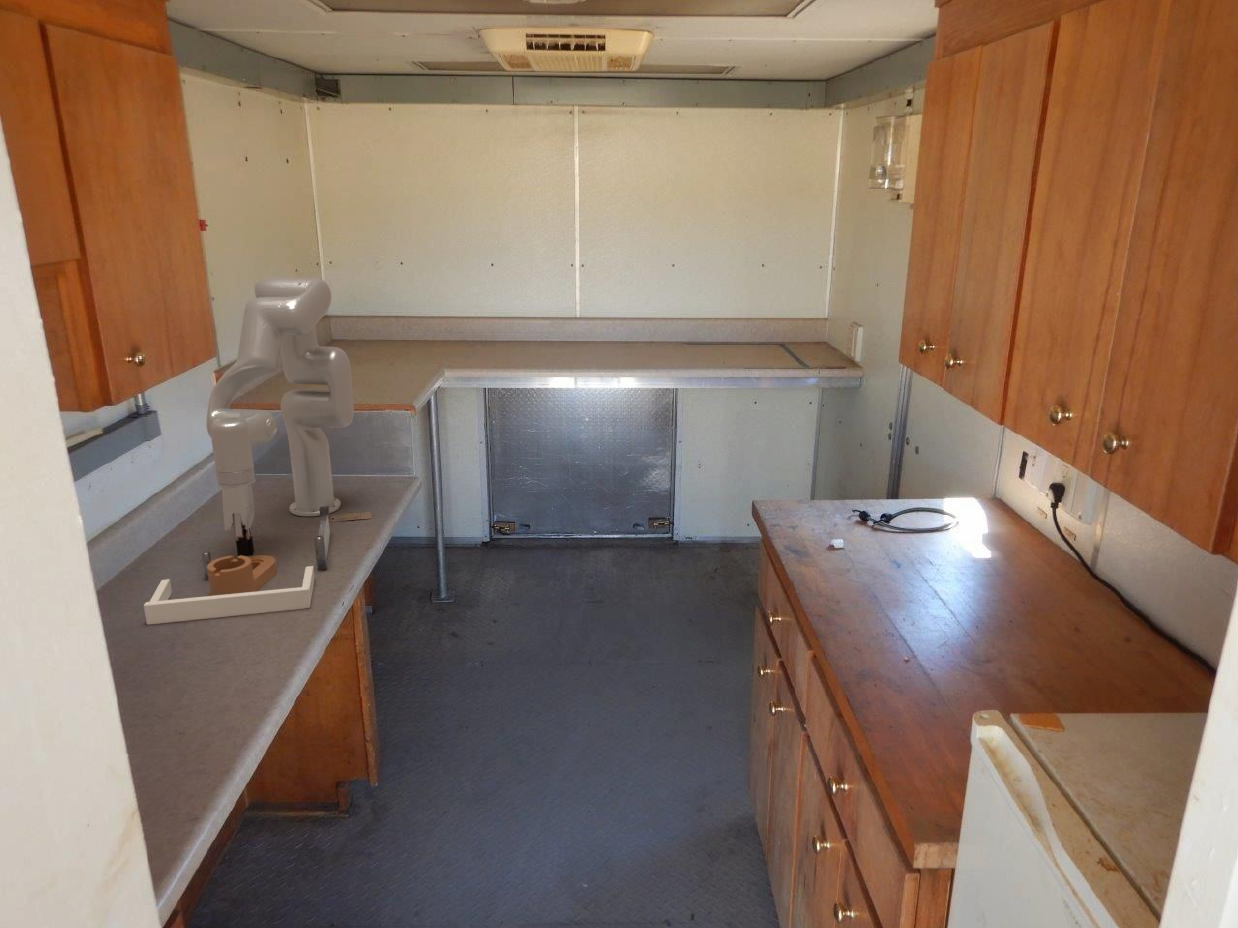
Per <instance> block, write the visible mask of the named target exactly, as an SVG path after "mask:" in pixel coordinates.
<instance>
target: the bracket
mask: <svg viewBox="0 0 1238 928" xmlns="http://www.w3.org/2000/svg"><path fill="white" fill-rule="evenodd" d="M207 572H208V578H209V580H208V584H209V592H210V596H215V595H226V594H236V593H246V592H257V591H260V589H261V588H262V587H263V586H264V585H265V584H266V583H268V582H270V580H271V579H272V578H273V577H274V576H275V575H276V574H277V572H278V571H277V563H276V559H275V557H273V556H272V555H267V554H266V555H265V554H264V555H262V554H261V555H259V554H258V555H253V556H241V555H240V556H237V558H234V555H226V556H222V557H218V558H215V559H213V560H211V562H210V563H209V564H208V565H207Z"/></svg>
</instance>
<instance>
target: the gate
mask: <svg viewBox="0 0 1238 928" xmlns="http://www.w3.org/2000/svg"><path fill="white" fill-rule="evenodd" d="M319 511H320V515H319V517H321V519H320V525H319V528H318V534H317V536H319V535H322V536H324V543H325V552H326V561H328V560H327V559H328V553H329V544H330V538H331V537H330V536H331V531H330V530H331V529H330V522H329V521H330V519H329V516H330V513H329V506H324V507H320V509H319Z"/></svg>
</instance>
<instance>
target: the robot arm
mask: <svg viewBox="0 0 1238 928" xmlns="http://www.w3.org/2000/svg"><path fill="white" fill-rule="evenodd" d="M254 294H255V298H252V299H251V300H249V301H248V302H247V303H246V304H245V307H244V310H243V317H242V323H241V325H242V326H241V332H240V338H239V344H238V350H237V351H238V352H237V357H236V361H235V363H233V365H231V367H229V368H228V369H227V370H226V371H225V372H224V373H223V374H222V376H221V377H220V378H219V379H218V381H217V382H216V384H215V385H214V387H213V388H212V390H211V392H210V395H209V399H208V400H209V401H208V404H207V410H206V412H207V413H206V431H207V434H208V436H209V437H210V439H211V446H212V447H211V448H212V453H213V461H214V467H215V475H216V482H217V485H218V487H221V498H222V499H221V500H222V510H223V512H222V513H223V522H224V531H226V532H228V533H229V532H230V531H231V530H232V529H233V531H234V536H235V544H236V545H235V546H236V551H237V552H236V553H237V557H239V556H240V555H241V556H247V557H250V556H254V554H255V545H254V537H253V535H252V534H253V531H252V525H253V522H254V519H255V503H254V495H253V490H252V489H253V488H252V484H253V483H255V482H256V480H257V479H256V473H255V465H254V464H255V463H254V456H253V449H252V448H253V447H257V446H261V445H265V444H267V443H269V442H270V441H271V440H273V439H274V438H275V436H276V435H277V432H278V420H277V419H276V416H275V415H274V414H273V413H272V412H270V411H267V410H263V409H246V408H231V405H232V402H233V400H234V398H235V397H236V395H237V394H238V393H239V392H240V390H242V389H243V388H244V387H246V386H248V385H249V384H251V383H253V382H255V381H256V382H257V380H259V379H263V378H264V377H266V376H269V375H272V374H274V373H275V372H276V371H277V369H278V367H279V359H280V354H281V360H282V361H281V362H282V368H283V373H284V376H285V378H286V380H287V381H288V382H289V383H291V384H296V385H307V386H308V385H310V386H327V388H328V389H316V388H314V389H311V388H299V389H292V390H289V391H287V392H286V393H285V394H283V396H282V398H281V399H280V412H281V416H282V419H283V422H284V425H285V429H286V434H287V439H288V445H289V454H290V465H291V472H292V482H293V490H294V491H293V493H294V502H292V503H291V504H289V505H290V506H289V512H290V513H291V514H293V515H296V516H300V517H318V516H319V517H320V511H319V509H320V507H324V506H329V514H332V513H334V512H336V511H338V510H339V509H340V508H341V506H342V505H341V504H342V502H341V500H340V499H338V498H337V497H334V484H333V473H332V465H331V463H332V462H331V457H330V456H331V455H330V444H329V441H328V437H327V436H326V434H325V433H324V431H323V430H322V429H321V428H324V429H325V428H326V429H327V428H328V429H343V428H347V427H348V426H349V425H351V424H352V422H353V419H354V415H355V414H354V413H355V406H354V403H355V402H354V392H353V381H352V380H353V379H352V369H351V362H350V358H349V357H348V354H347V353H346V352H345V350H344V349H342V348H340V347H337V346H320V345H319V343H318V337H317V328H316V326H317V324H318V323H319V322H320V321H321V319H323V317H324V316H325V315H326V313H327V312H328V310H329V308H330V306H331V302H332V292H331V288H330V286H329V284H328V283H327V282H326V281H325V280H323V279H321V278H317V277H290V276H275V277H274V276H273V277H265V278H262V279H259V280H258V281H257V282H256V283H255V285H254ZM280 352H281V353H280Z"/></svg>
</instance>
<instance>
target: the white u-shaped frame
mask: <svg viewBox="0 0 1238 928" xmlns="http://www.w3.org/2000/svg"><path fill="white" fill-rule="evenodd" d="M315 579H316V578H315V569H314V565H311V566H305V569H304V575H303V580H302V585H301V586H300V587H289V588H288V587H287V588H280V589H268V590H258V591H257V592H246V593H236V594H226V595H215V596H211V595H207V596H206V595H205V596H198V597H197V596H196V597H185V598H177V599H176V598H175V599H169V598H170V597H171V595H172V593H173V591H172V585H171V579H170V578H167V579H162V580H160V581H159V582H160V583H159V584H158V585H157V587H156V590H155V591H154V593H153V595H152V597H151V598H150V600H149V601H146V602H145V603H144V604H143V609H144V614H145V620H146V625H157V624H158V625H159V624H167V623H177V622H188V621H197V620H205V619H207V620H208V619H216V618H224V617H235V616H245V615H246V616H247V615H253V614H262V613H274V612H284V611H295V610H301V609H302V610H303V609H310V607H311V604H312V603H311V602H312V597H313V591H314V585H315Z"/></svg>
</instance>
